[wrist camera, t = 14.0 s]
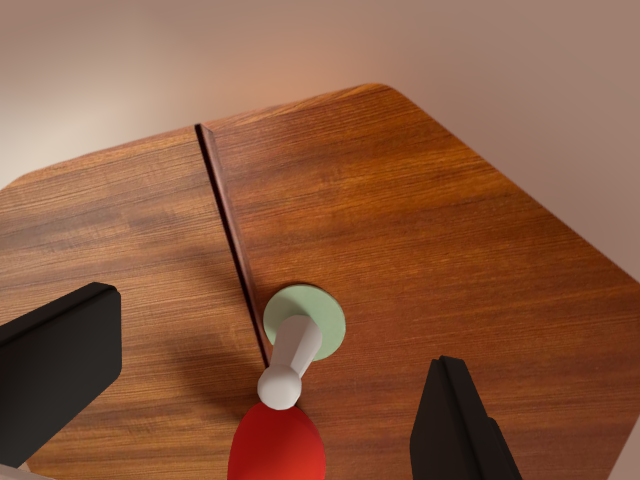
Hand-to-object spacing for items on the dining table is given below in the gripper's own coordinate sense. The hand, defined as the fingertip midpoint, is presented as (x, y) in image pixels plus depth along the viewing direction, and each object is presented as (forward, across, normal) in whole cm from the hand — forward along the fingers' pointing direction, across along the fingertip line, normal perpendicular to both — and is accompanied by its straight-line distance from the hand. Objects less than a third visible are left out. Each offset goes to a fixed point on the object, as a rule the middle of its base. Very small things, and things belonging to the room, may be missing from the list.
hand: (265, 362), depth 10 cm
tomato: (+32, +3, +32) cm, 46 cm away
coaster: (+32, +3, +17) cm, 37 cm away
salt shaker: (+32, +3, +18) cm, 36 cm away
